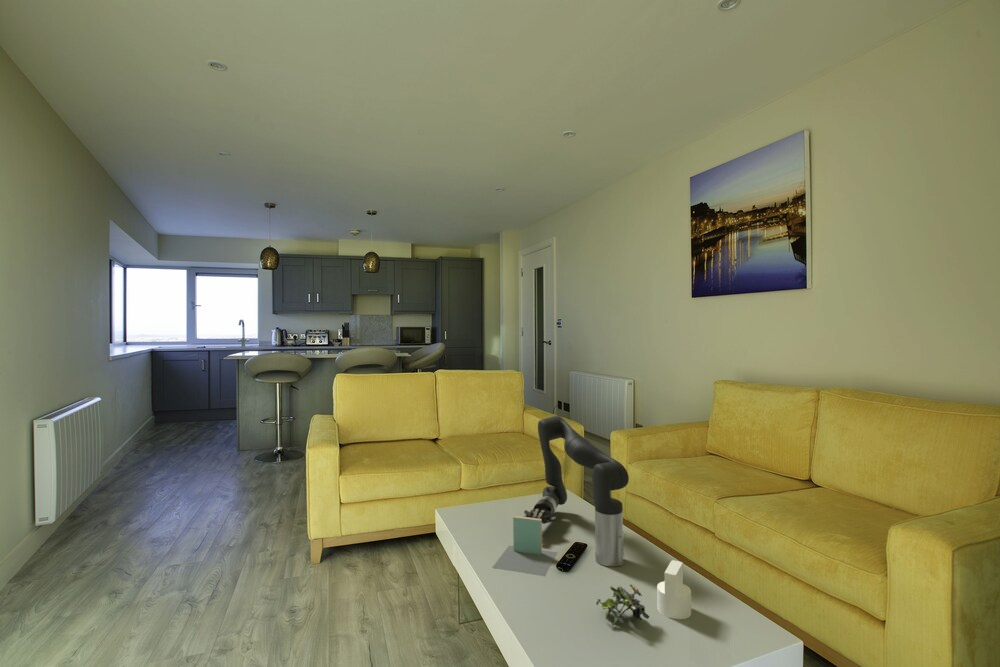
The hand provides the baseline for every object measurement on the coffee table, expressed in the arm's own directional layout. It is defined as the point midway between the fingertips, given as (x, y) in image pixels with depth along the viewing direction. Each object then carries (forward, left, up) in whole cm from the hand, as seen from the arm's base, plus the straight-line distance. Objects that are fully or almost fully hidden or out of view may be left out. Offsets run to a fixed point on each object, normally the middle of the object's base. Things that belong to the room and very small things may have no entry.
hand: (533, 523), depth 185 cm
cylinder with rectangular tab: (-49, +30, -8) cm, 58 cm away
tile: (0, +8, -7) cm, 11 cm away
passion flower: (-36, +40, -8) cm, 54 cm away
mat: (-1, +14, -8) cm, 16 cm away
